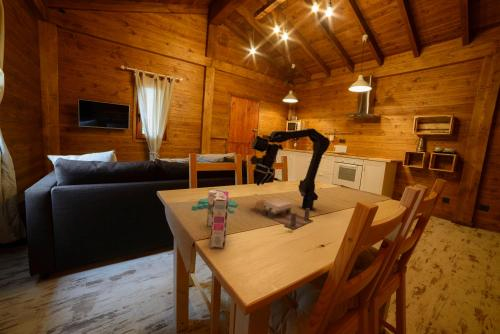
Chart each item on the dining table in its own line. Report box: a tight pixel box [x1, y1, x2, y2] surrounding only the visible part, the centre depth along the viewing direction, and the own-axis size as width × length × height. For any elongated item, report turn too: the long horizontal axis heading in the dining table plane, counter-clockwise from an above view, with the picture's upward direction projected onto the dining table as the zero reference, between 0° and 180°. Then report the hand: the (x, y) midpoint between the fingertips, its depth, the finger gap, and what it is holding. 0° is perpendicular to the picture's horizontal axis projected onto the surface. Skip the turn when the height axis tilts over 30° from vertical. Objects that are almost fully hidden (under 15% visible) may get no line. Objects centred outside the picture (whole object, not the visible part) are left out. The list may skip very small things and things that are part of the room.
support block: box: [255, 199, 266, 211], centre depth 113 cm, size 5×5×4 cm
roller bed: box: [247, 207, 314, 231], centre depth 105 cm, size 16×27×6 cm, turn 45°
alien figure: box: [191, 197, 239, 214], centre depth 113 cm, size 20×2×20 cm
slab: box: [264, 197, 293, 211], centre depth 106 cm, size 10×9×2 cm
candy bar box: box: [209, 191, 229, 249], centre depth 76 cm, size 11×5×16 cm, turn 5°
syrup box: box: [206, 188, 228, 228], centre depth 89 cm, size 6×6×14 cm
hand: (259, 184), depth 110 cm, fingers open, 9 cm apart
